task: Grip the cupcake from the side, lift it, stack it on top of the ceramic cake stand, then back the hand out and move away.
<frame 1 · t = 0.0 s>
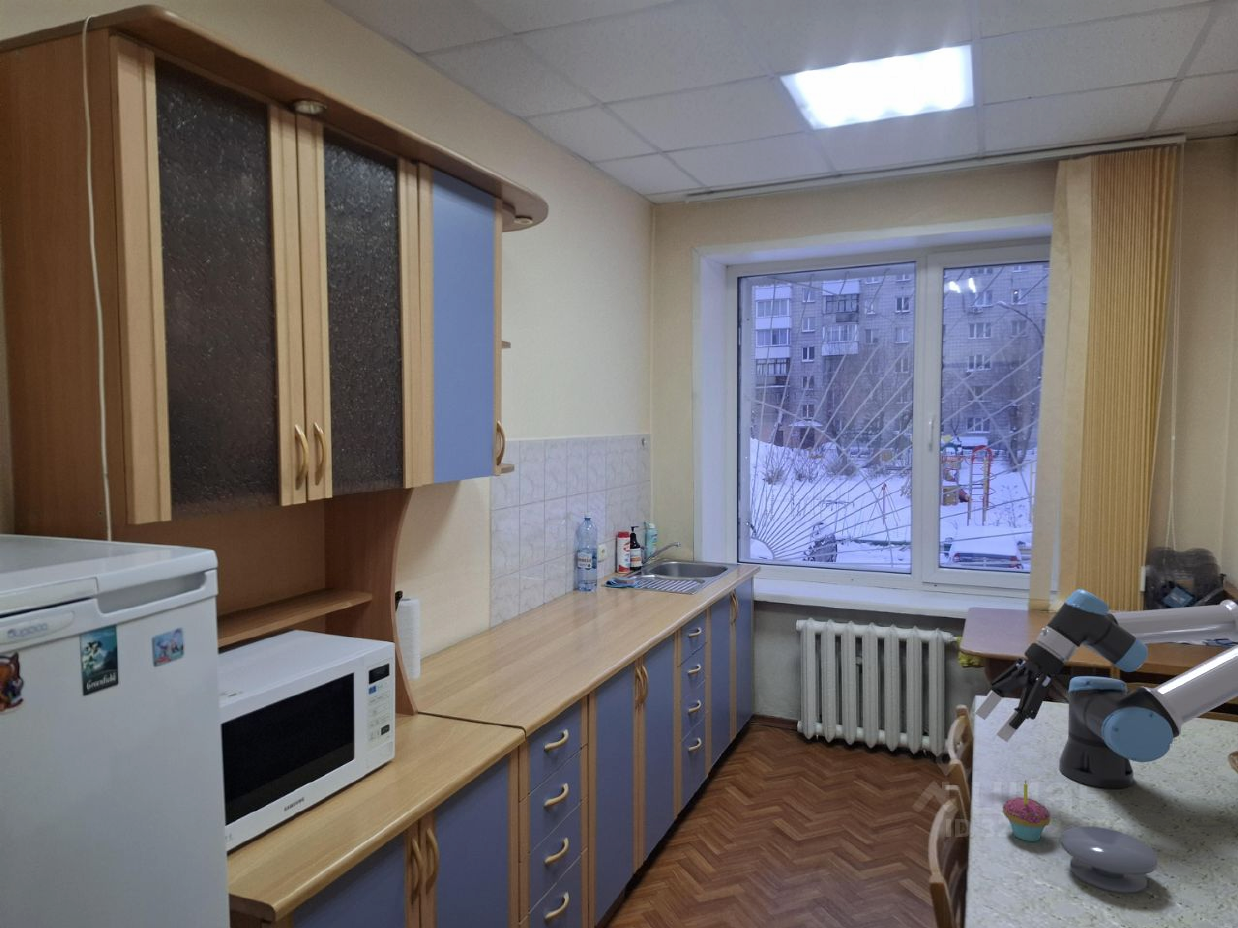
hand: (989, 726, 181), 15 cm above the table, tool tilted 35°, fingers open, 13 cm apart
cake stand: (1107, 875, 149), on the table
cupcake: (1025, 836, 163), on the table
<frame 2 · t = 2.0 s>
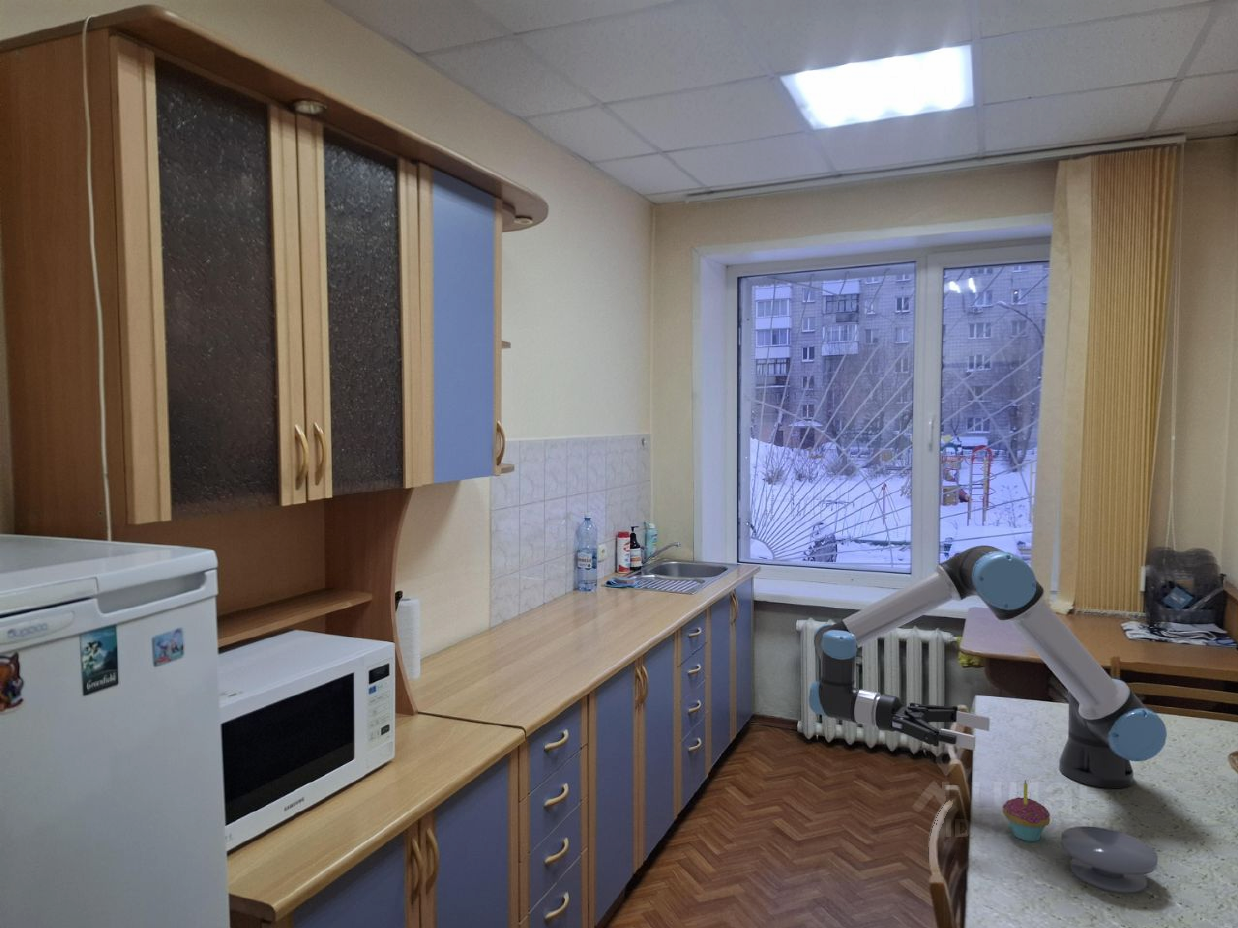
hand: (982, 733, 168), 19 cm above the table, tool horizontal, fingers open, 13 cm apart
nothing on the table moved.
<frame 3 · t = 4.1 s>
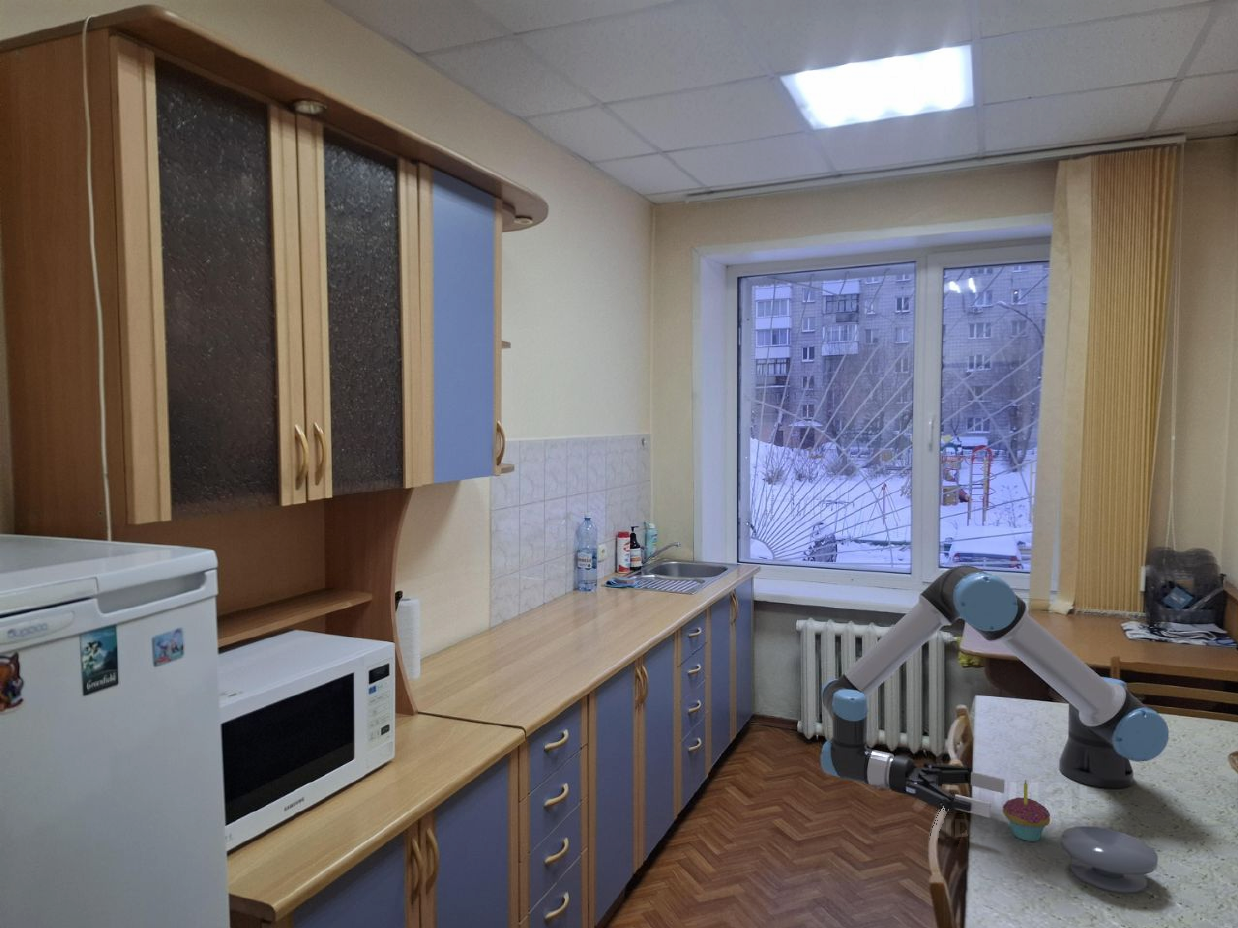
hand: (997, 797, 166), 6 cm above the table, tool horizontal, fingers open, 13 cm apart
nothing on the table moved.
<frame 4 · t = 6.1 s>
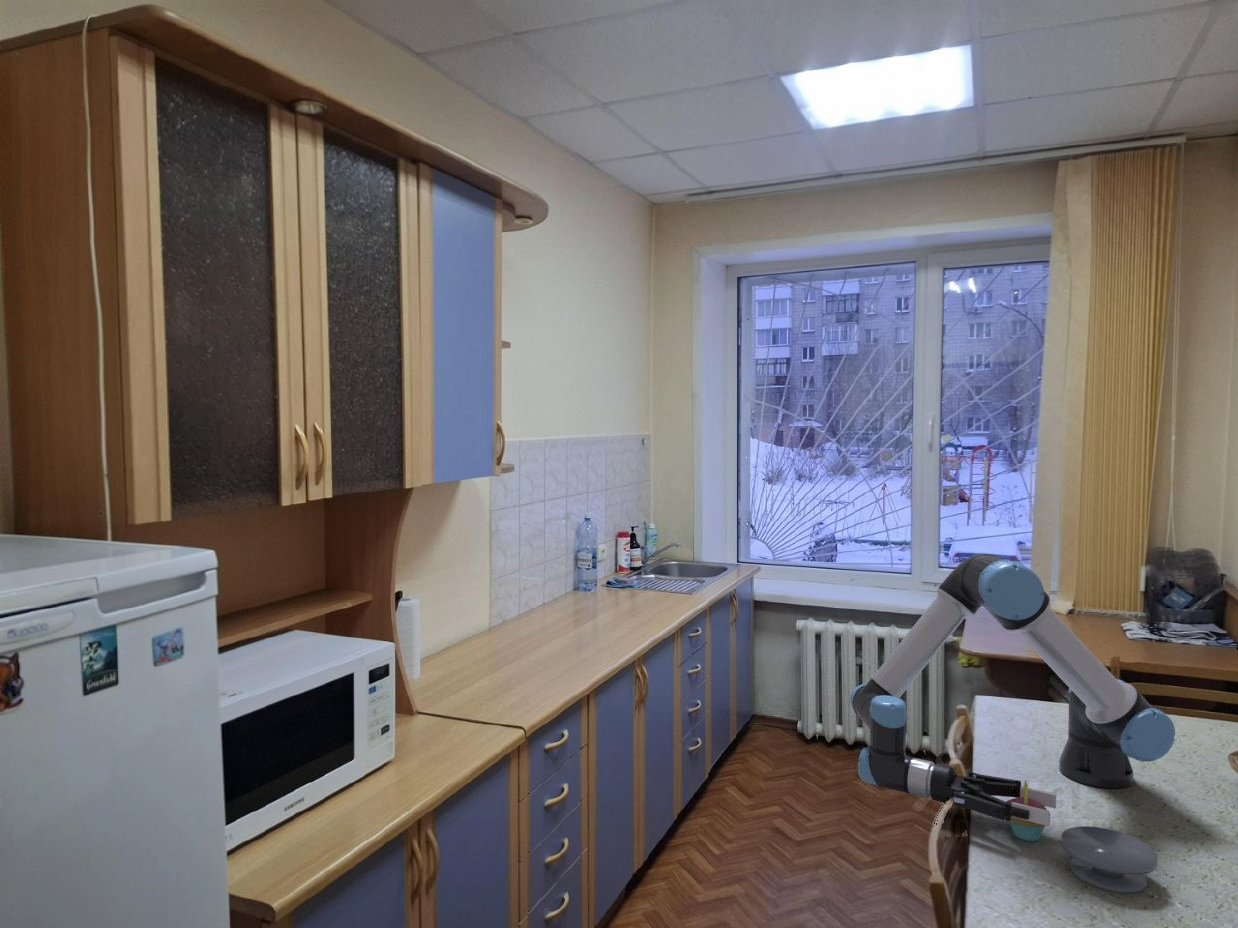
hand: (1052, 809, 160), 6 cm above the table, tool horizontal, fingers closed on cupcake, 8 cm apart
cupcake: (1025, 835, 163), on the table, touching gripper
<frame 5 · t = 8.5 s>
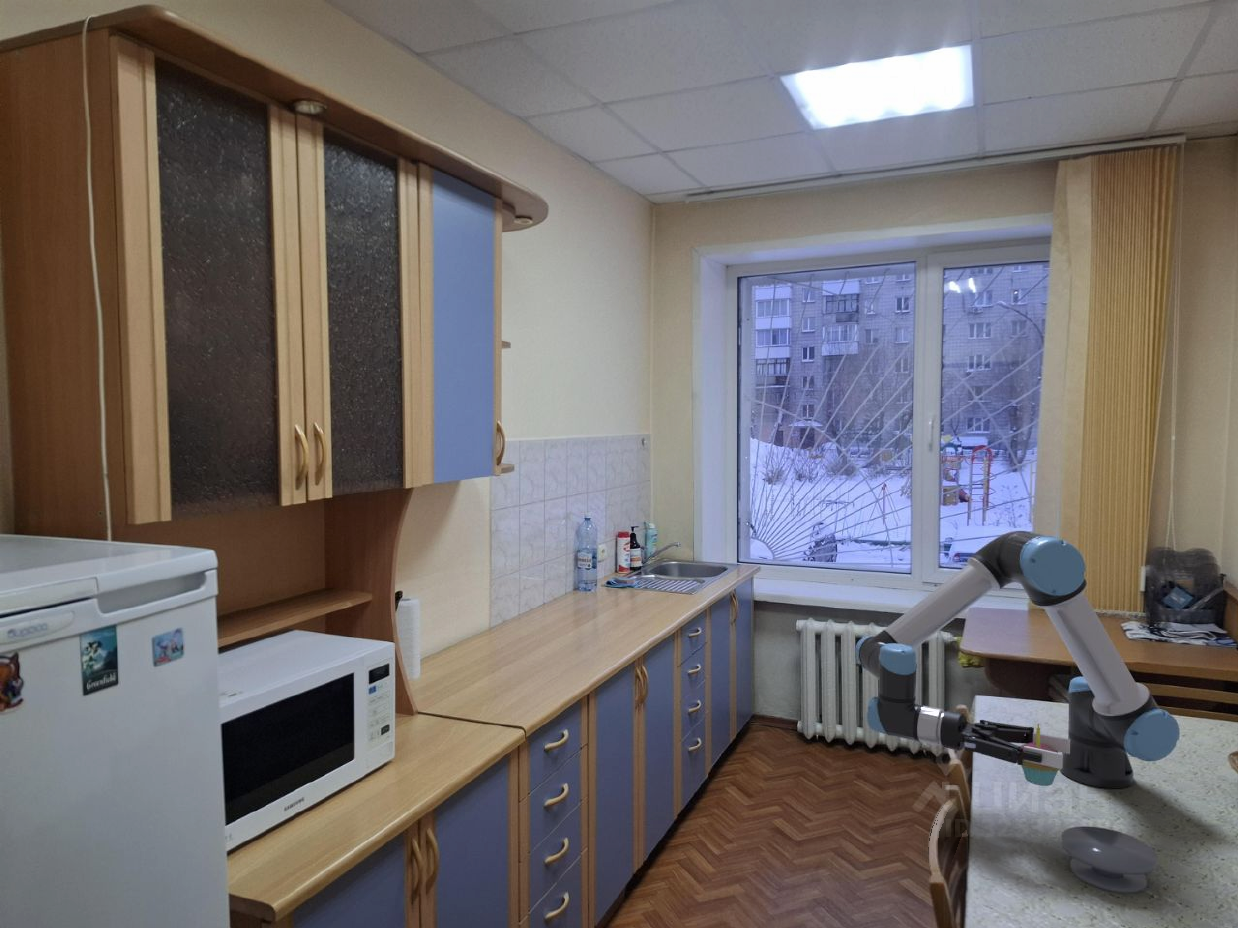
hand: (1065, 753, 157), 19 cm above the table, tool horizontal, fingers closed on cupcake, 8 cm apart
cupcake: (1038, 781, 160), point 12 cm above the table, touching gripper
when the fingers open (13 cm above the table, at t = 10.7 s): cupcake drops 2 cm, resting on cake stand.
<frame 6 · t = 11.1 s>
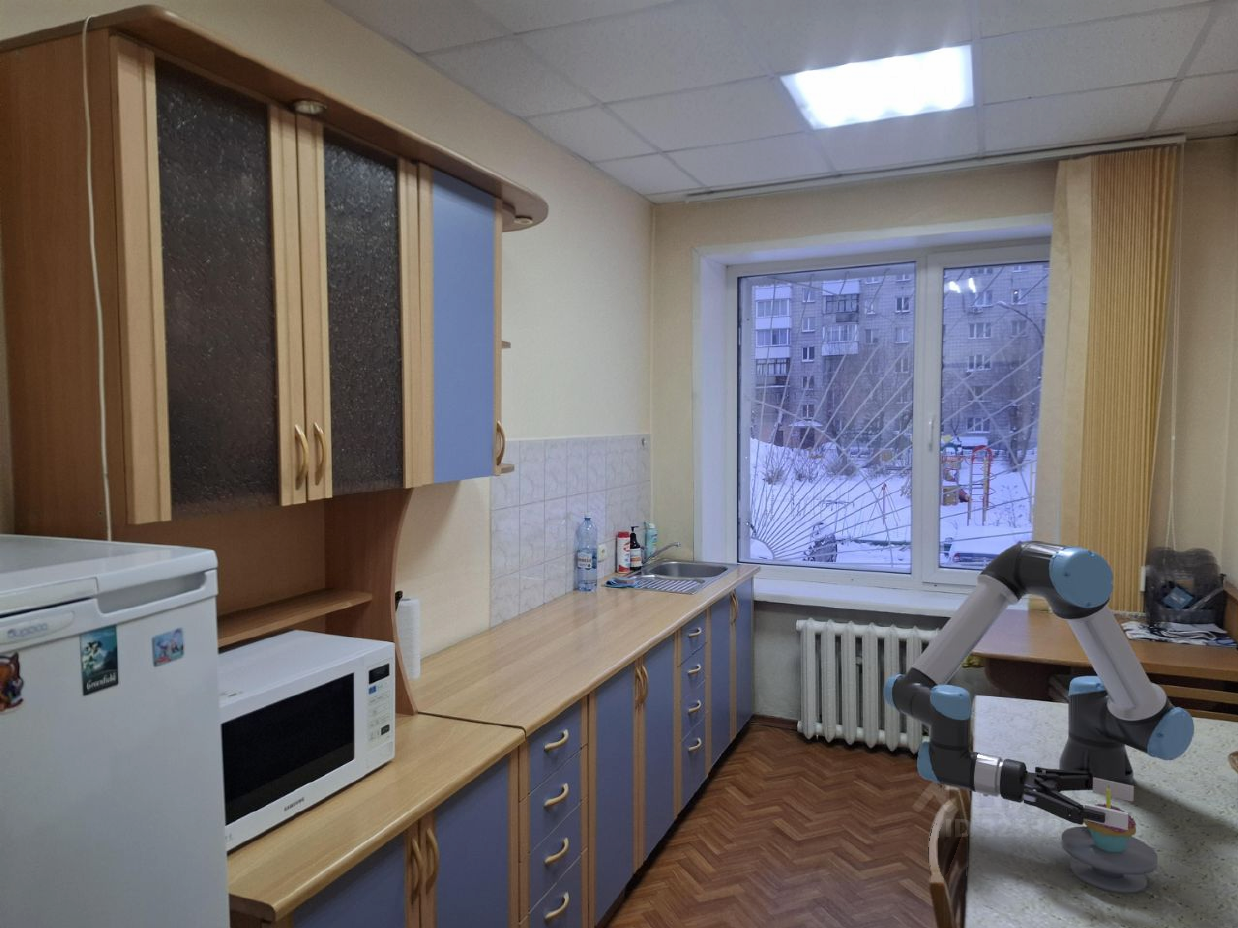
hand: (1131, 807, 146), 13 cm above the table, tool horizontal, fingers open, 13 cm apart
cupcake: (1108, 846, 148), point 5 cm above the table, touching cake stand
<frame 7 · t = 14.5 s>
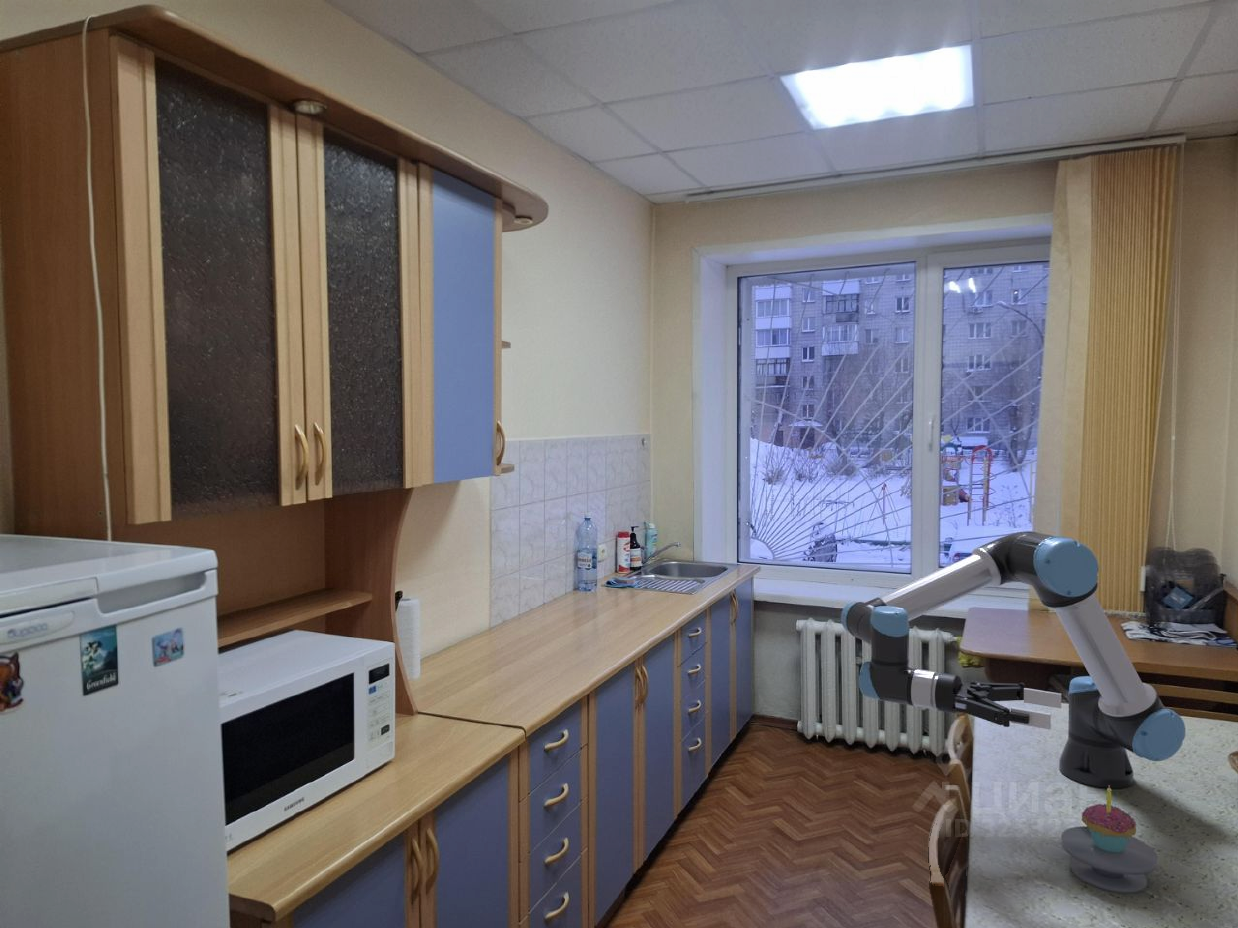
hand: (1056, 710, 153), 29 cm above the table, tool horizontal, fingers open, 13 cm apart
nothing on the table moved.
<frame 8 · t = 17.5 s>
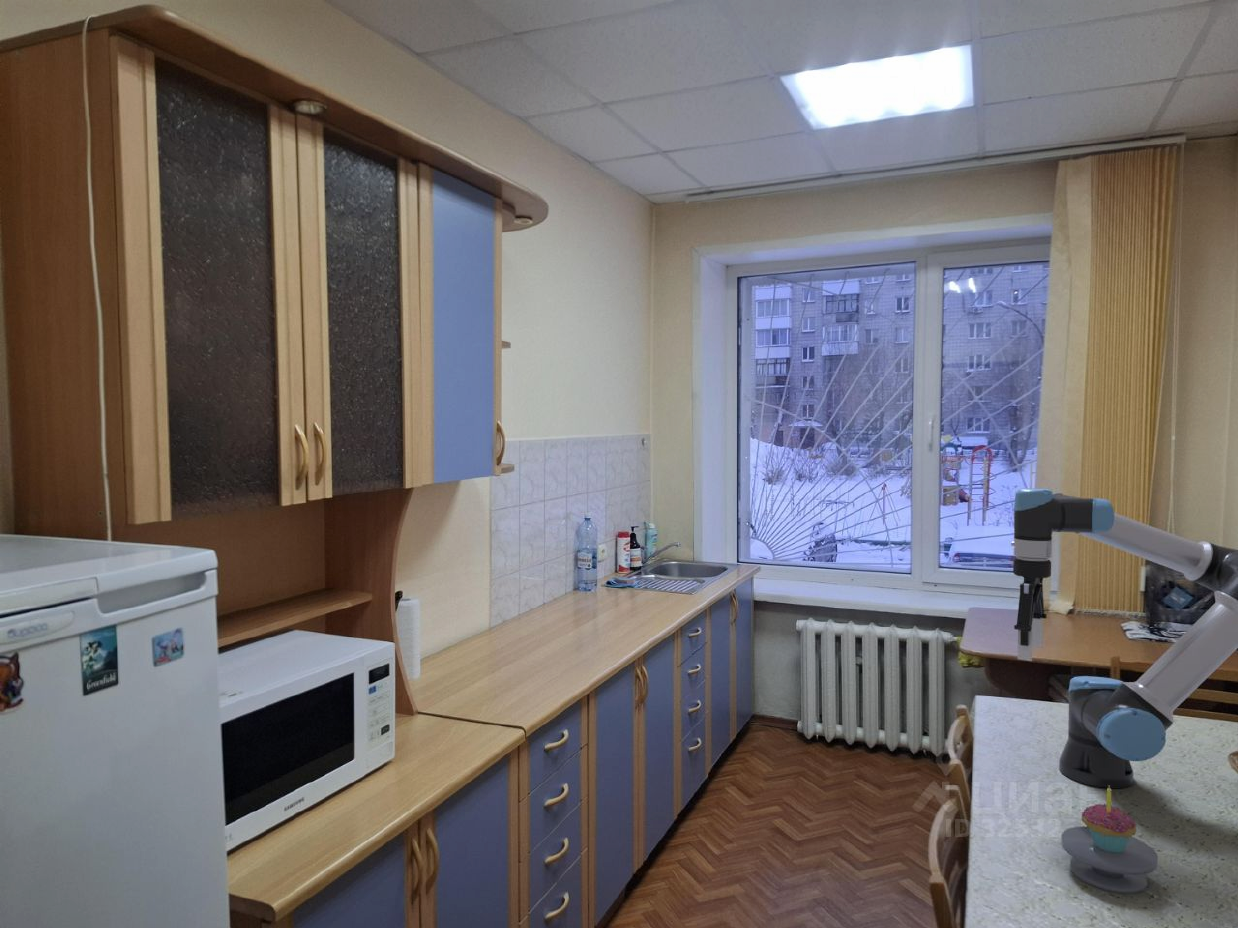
hand: (1030, 653, 181), 32 cm above the table, tool pointing down, fingers open, 13 cm apart
nothing on the table moved.
at the end: cupcake inside the target area on the cake stand (0.0 cm from its centre), point 5.2 cm above the cake stand's base; cupcake tilted 0°; the gripper is holding nothing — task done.
